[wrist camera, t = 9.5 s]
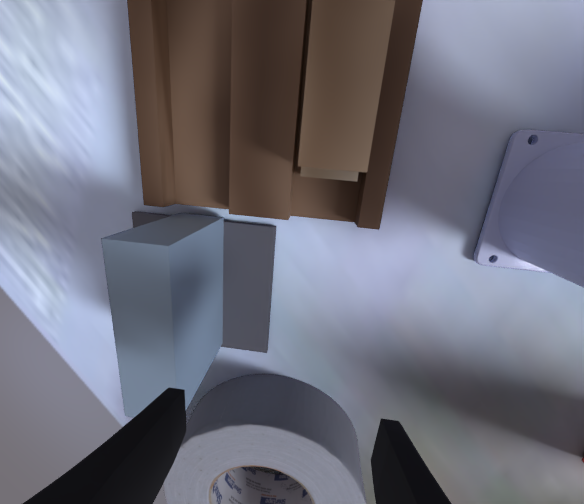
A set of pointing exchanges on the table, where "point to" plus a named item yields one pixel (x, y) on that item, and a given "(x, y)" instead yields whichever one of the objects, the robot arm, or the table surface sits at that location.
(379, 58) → the offcut short
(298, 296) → the table surface
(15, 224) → the table surface
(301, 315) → the table surface
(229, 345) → the mat
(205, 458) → the tape roll
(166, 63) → the rack
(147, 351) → the blue-grey rectangular block
